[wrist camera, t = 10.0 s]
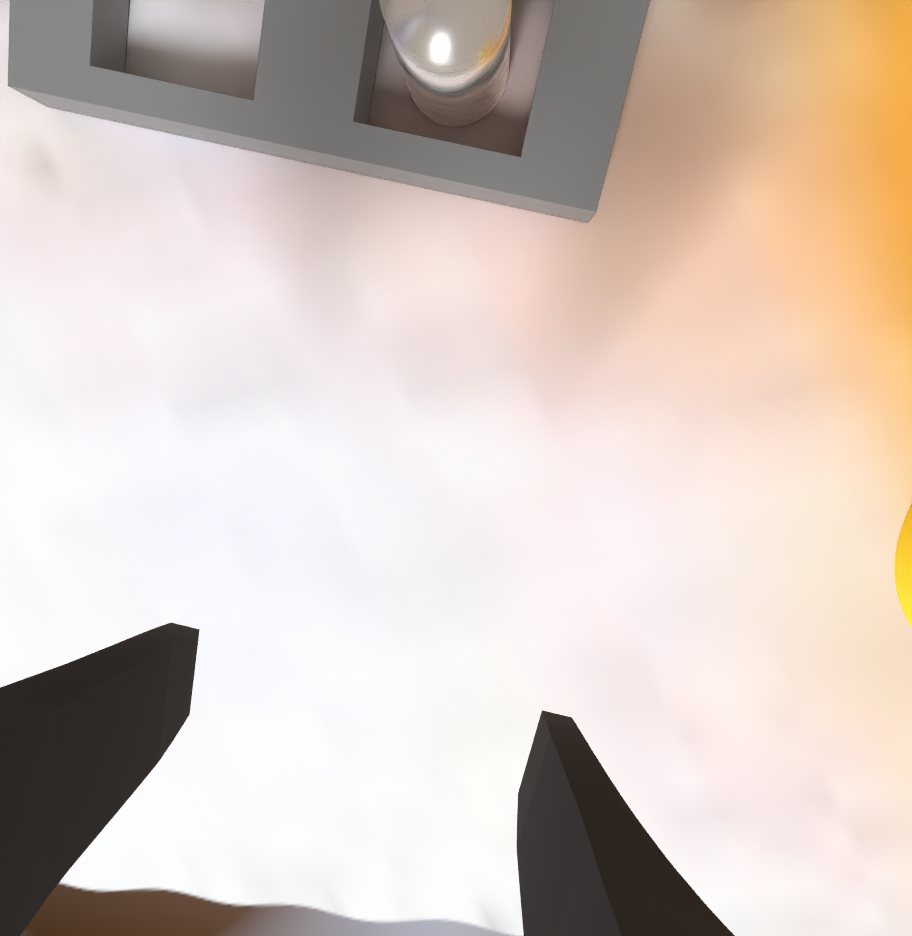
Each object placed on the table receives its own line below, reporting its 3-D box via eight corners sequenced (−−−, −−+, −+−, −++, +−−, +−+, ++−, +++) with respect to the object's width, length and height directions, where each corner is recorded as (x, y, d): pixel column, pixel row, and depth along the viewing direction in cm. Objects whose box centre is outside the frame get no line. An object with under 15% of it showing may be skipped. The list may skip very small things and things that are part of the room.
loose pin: (396, 115, 17) (367, 47, 13) (416, -2, 17) (391, -109, 13) (495, 136, 17) (495, 74, 13) (520, 20, 16) (527, -82, 13)
